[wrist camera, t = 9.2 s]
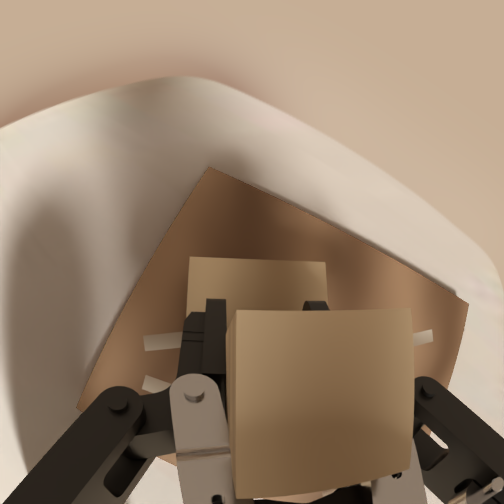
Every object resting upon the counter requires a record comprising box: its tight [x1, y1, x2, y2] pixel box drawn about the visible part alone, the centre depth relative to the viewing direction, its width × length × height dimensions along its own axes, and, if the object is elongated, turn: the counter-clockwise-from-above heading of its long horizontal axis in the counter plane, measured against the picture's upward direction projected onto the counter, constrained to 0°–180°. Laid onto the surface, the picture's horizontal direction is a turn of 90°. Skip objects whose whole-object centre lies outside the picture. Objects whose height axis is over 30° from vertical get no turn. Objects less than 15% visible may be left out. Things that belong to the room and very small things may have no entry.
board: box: [76, 167, 469, 503], centre depth 15 cm, size 20×16×1 cm
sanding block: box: [186, 257, 414, 499], centre depth 9 cm, size 6×10×11 cm, turn 179°
